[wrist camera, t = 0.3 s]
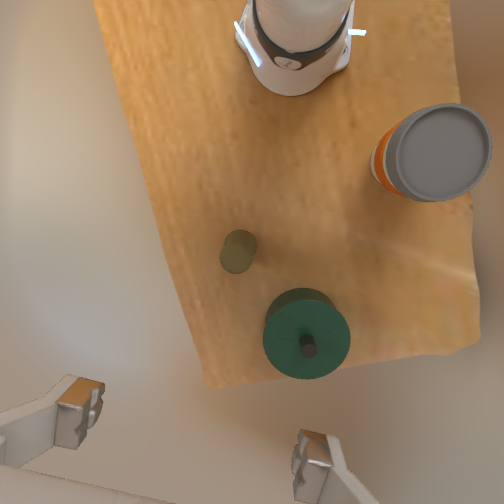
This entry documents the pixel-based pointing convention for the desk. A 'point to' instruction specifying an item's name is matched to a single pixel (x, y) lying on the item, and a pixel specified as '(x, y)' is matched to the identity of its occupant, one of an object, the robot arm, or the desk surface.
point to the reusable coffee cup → (434, 153)
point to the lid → (306, 339)
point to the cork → (238, 251)
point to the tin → (296, 295)
